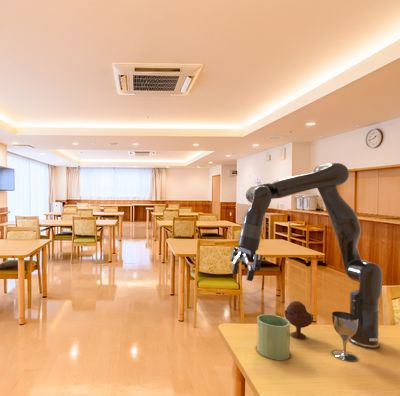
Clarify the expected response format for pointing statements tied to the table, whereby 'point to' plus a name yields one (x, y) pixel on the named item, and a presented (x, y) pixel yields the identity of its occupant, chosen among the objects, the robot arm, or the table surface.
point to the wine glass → (345, 332)
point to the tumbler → (273, 336)
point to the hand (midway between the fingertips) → (241, 277)
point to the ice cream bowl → (298, 318)
